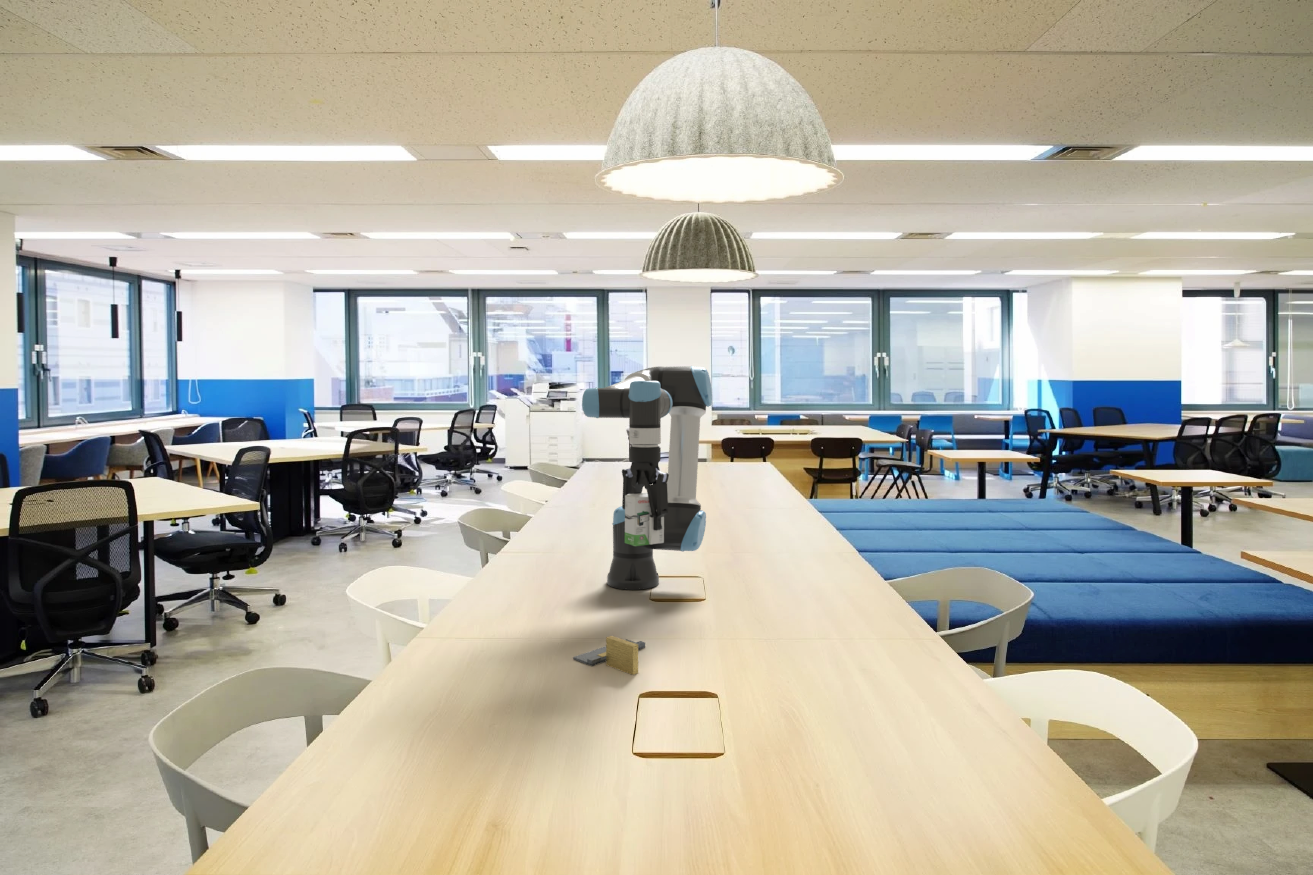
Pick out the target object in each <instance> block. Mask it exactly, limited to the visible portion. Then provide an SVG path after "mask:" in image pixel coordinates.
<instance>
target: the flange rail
mask: <svg viewBox="0 0 1313 875" xmlns="http://www.w3.org/2000/svg"><path fill="white" fill-rule="evenodd" d="M605 639H606V640H605V646H602V647H600V648H596V649H593V650H591V651H586V652H584V653H581V654H578V655H575V656H573V657H572V658H573V660H574V661H576V662H580V663H582V664H586V665H588V666H589V667H594V666H596V665H600V664H603V663H605V664H606V666H607V667H610V668H612V669H616V670H618V671H621V672H623V673H626V674H630V675H631V676H634V675H637V674H639V651H640V650H643V649H646V642H645V641H643V640H638V641H634V640H633V641H632V640H631V639H626V638H625V639H622V638H619V637H616V636H614V635H608V636H606V638H605Z"/></svg>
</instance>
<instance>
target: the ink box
mask: <svg viewBox="0 0 1313 875" xmlns="http://www.w3.org/2000/svg"><path fill="white" fill-rule="evenodd" d="M656 511H657V510H656ZM650 515H652V513H651V508H650V503H649V498H648V494H647V492H642V493H638V494H627V495H625V543H627V544H630V545H633V546H641V545H650V544H649V517H650ZM659 543H664V515H662V516H661V530H659ZM656 544H658V543H656Z"/></svg>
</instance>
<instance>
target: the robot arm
mask: <svg viewBox="0 0 1313 875" xmlns="http://www.w3.org/2000/svg"><path fill="white" fill-rule="evenodd" d="M711 383H712V382H711V378H710V374H709V371H708V370H707V369H706V368H705V367H704V366H703V367H702V366H693V365H690V366H653V367H648V368H647V367H646V368H645V369H641V370H638V371H635V372H632V373H630V374H628V375H626V377H625V378H624V380H622V381H620V382H616V383H614V384H611V385H609V386H605V387H591V388H586V389H585V390H584V392H583V394H582V398H581V399H582V400H581V406H582V412H583V414H584V415H585V417H587V418H596V419H605V418H606V419H607V418H608V419H609V418H610V419H629V422H628V423H629V428H628V435H629V436H628V437H629V438H628V439H629V444H630V446H629V447H628V460H629V462H631V464H630V467H629V468H622V469H621V475H622V504H621V505H622V506H621V505H620V506H619V507H616V508H615V509H614V511H613V516H612V523H611V524H612V561H611V563H610V567H609V572H608V573H607V574H606V581H607V582H606V584H607V585H608V586H609V587H612V588H614V589H619V590H629V591H631V590H632V591H633V590H636V591H637V590H646V589H651V588H655V587H657V586H658V585H659V584H660V579H659V578H660V576H659V572H657V567H656V563H655V560H654V552H653V551H654V550H657V551H658V550H659V551H660V550H661V551H674V552H675V551H676V552H677V551H678V552H696V551H697V550H699V548H700V547H701V545H702V542H703V539H704V535H705V531H706V524H707V520H706V519H707V513H706V512H705V511H704V510H701V508H702V505H701V503H699V501H698V499H697V483H698V482H697V481H698V467H699V466H698V464H699V450H700V449H699V448H700V446H699V445H700V430H701V429H700V426H701V418H702V417H703V416H704V415H705V414H706V411H707V407H708V408H709V407H711V406H712V404H713V392H712V384H711ZM668 414H669V416H670V427H669V428H670V432H669V445H668V446H669V447H668V448H669V449H668V465H667V466H668V467H667V472H663V471H661V470H660V467H659V463H660V461H661V460H662V459H661V458H662V457H661V455H662V454H661V453H662V452H661V448H662V447H660V446H659V445H660V444H661V441H662V438H661V437H662V436H661V432H662V431H661V429H662V428H661V424H662V422H661V419H662V418H664V417H666V416H667V415H668ZM643 489H645V490H646V493H647V494H648V498H649V503H650V508H651V513H652V515H650V517H649V544H650V545H641V546H633V545H630V544H627V543H625V495H627V494H638V493H643ZM656 510H657V511H656ZM662 515H664V543H659V530H661V516H662ZM656 543H658V544H656Z"/></svg>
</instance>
